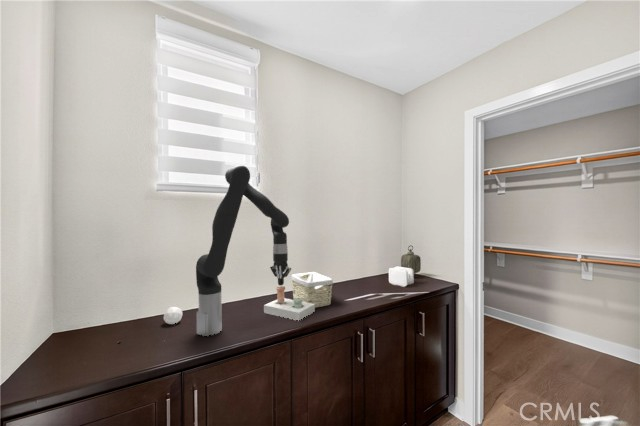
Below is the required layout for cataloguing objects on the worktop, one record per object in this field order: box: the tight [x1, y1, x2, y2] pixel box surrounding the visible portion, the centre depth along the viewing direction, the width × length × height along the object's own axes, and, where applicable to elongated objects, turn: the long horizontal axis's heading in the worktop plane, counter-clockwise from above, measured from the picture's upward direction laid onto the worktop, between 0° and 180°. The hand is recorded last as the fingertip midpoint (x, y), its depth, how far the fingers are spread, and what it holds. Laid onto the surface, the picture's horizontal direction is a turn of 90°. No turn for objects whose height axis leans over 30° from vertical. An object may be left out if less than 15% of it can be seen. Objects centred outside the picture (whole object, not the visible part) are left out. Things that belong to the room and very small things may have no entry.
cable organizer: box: [388, 265, 415, 288], centre depth 189 cm, size 15×11×12 cm
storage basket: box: [290, 271, 334, 309], centre depth 154 cm, size 24×16×15 cm
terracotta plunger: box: [275, 285, 286, 302], centre depth 141 cm, size 5×5×7 cm
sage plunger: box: [292, 298, 303, 309], centre depth 135 cm, size 5×5×7 cm
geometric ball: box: [163, 306, 183, 325], centre depth 125 cm, size 8×8×8 cm
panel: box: [263, 297, 316, 322], centre depth 138 cm, size 14×22×4 cm, turn 59°
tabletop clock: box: [400, 245, 422, 279], centre depth 209 cm, size 14×9×25 cm, turn 130°
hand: (280, 285), depth 141 cm, fingers closed
